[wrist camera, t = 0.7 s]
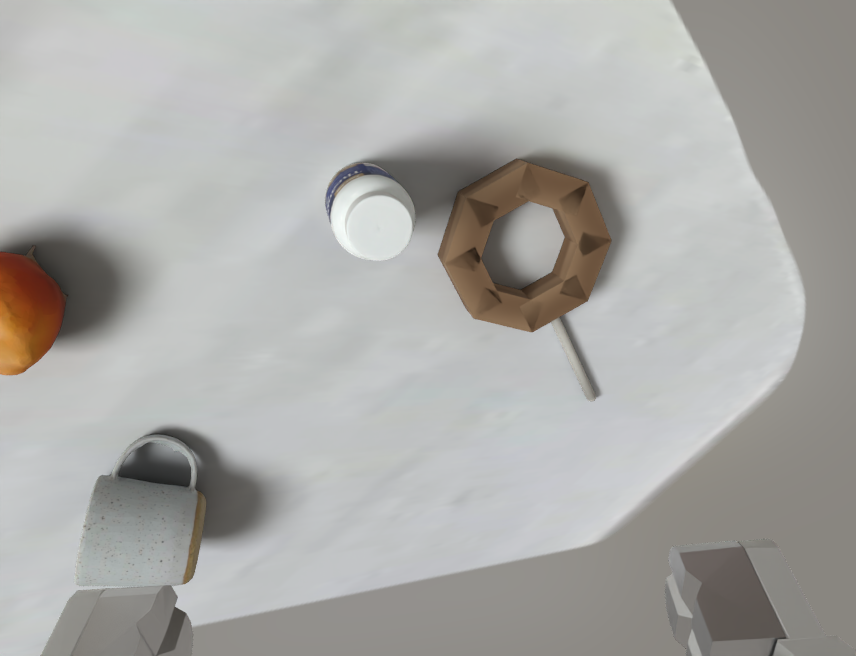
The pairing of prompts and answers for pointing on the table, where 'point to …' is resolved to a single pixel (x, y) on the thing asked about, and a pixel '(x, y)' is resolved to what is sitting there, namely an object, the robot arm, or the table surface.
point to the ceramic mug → (141, 528)
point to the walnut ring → (574, 260)
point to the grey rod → (573, 359)
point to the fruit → (27, 312)
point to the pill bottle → (369, 212)
